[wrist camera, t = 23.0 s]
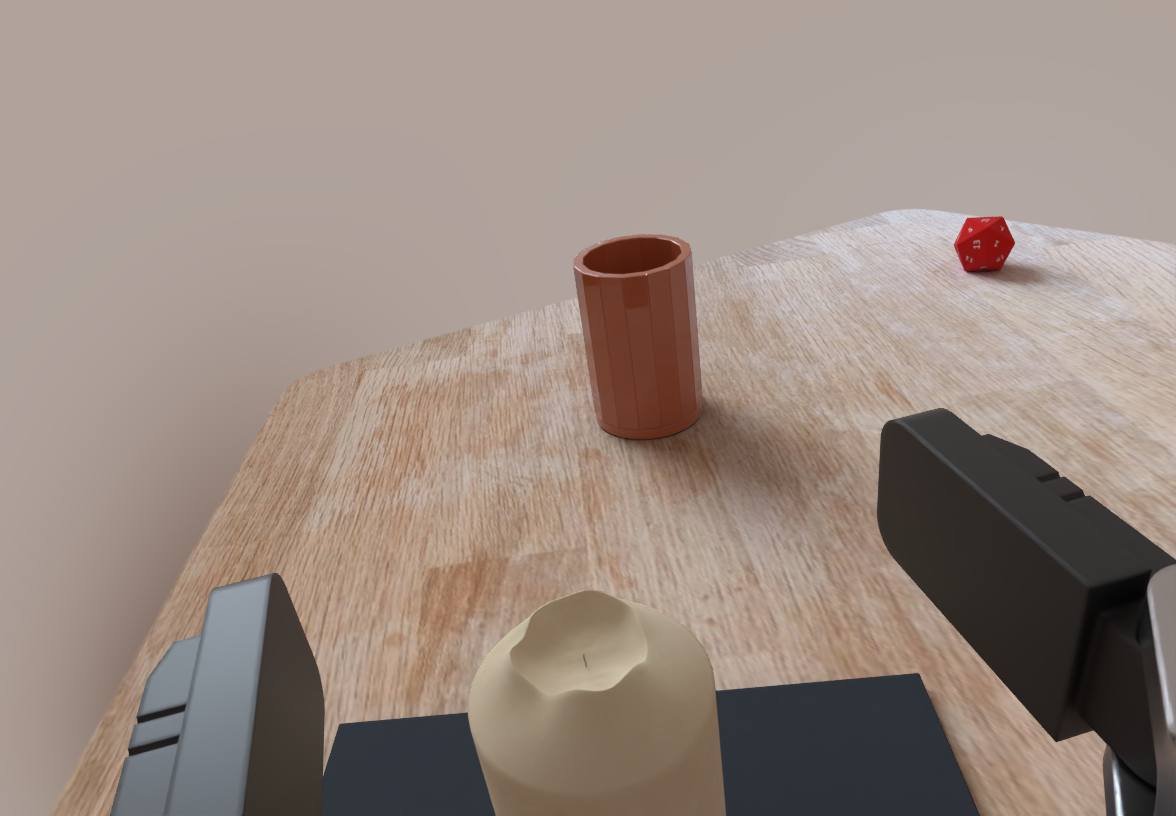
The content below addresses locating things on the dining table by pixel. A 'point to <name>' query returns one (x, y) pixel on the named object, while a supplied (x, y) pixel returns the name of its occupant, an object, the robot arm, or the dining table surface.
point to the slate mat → (748, 753)
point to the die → (984, 243)
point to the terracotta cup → (640, 334)
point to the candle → (598, 714)
